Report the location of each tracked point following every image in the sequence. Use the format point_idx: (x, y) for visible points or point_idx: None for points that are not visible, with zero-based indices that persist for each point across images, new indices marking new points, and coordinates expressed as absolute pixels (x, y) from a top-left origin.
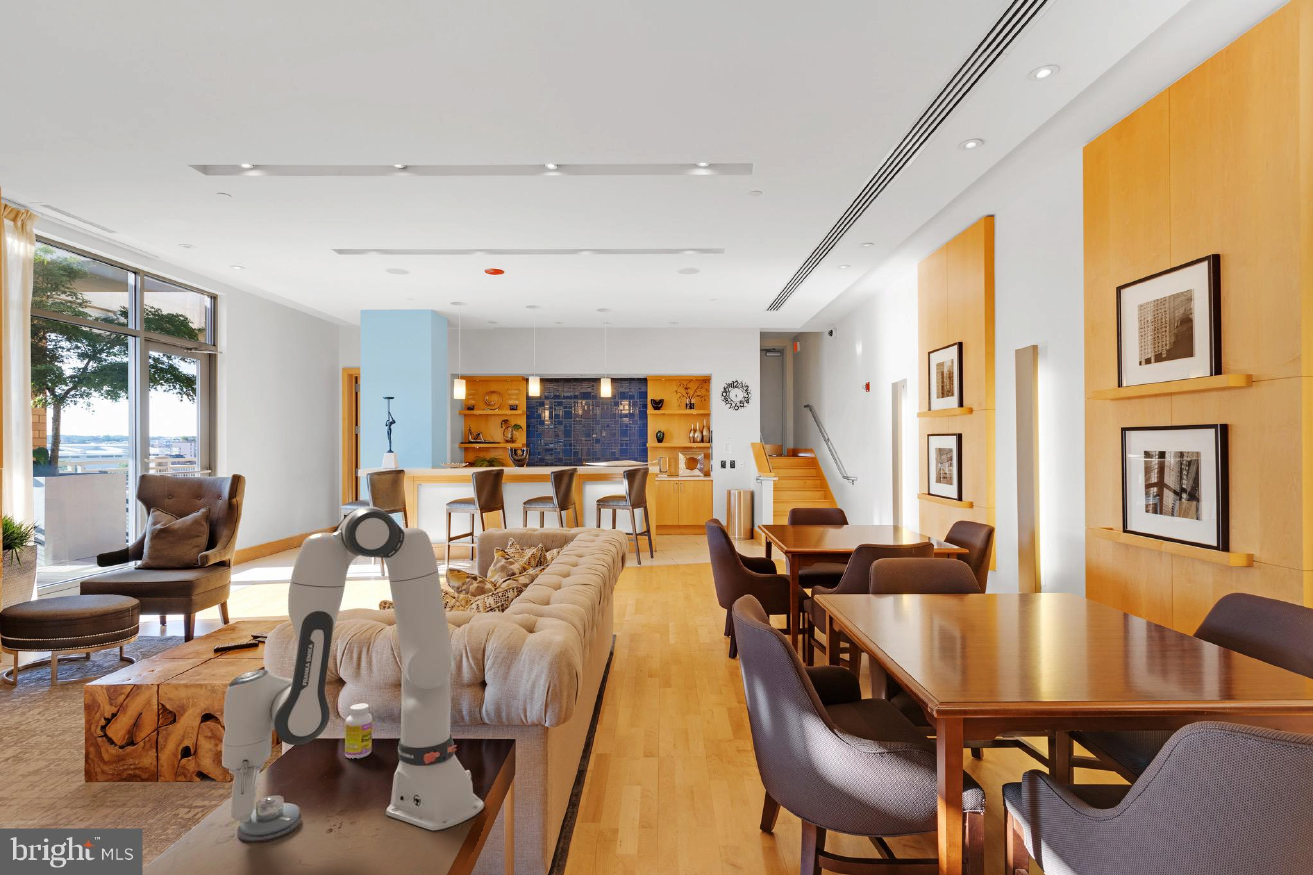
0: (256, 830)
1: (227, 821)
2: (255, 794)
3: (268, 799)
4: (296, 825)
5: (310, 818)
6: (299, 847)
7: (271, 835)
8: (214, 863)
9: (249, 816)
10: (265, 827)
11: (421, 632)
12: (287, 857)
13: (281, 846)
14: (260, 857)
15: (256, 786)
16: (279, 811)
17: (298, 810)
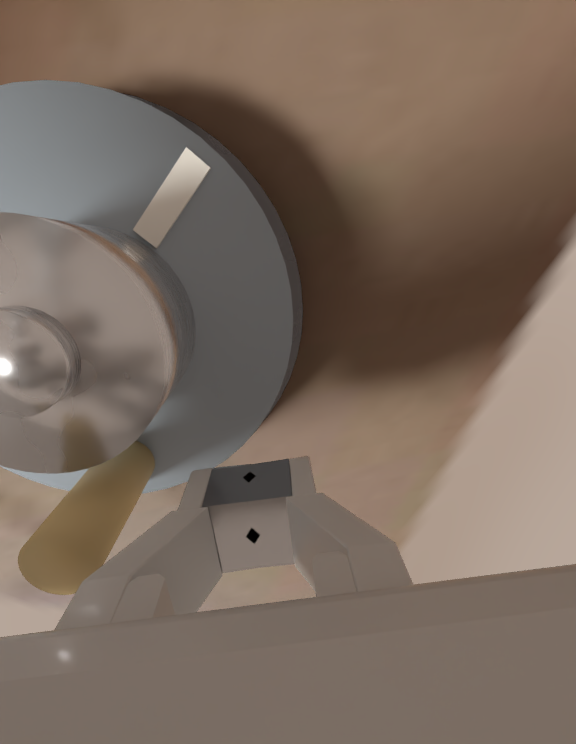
0: (283, 376)
1: (6, 534)
2: (422, 643)
3: (32, 378)
4: (178, 118)
5: (38, 28)
6: (459, 68)
7: (297, 275)
8: (423, 495)
9: (311, 475)
10: (275, 324)
11: None
12: (550, 138)
13: (393, 198)
14: (469, 301)
15: (103, 729)
16: (126, 245)
17: (31, 90)
